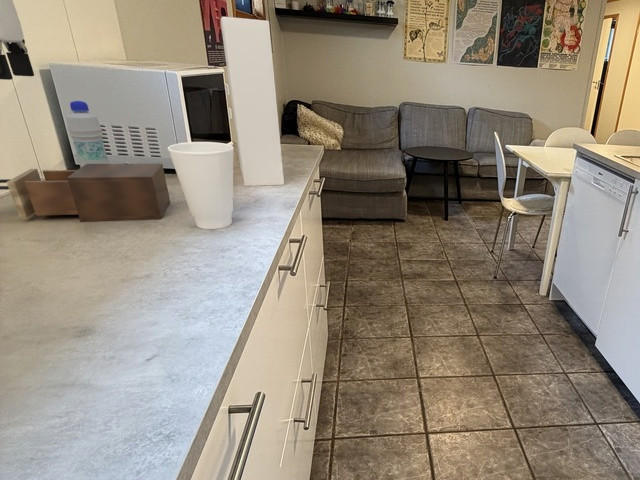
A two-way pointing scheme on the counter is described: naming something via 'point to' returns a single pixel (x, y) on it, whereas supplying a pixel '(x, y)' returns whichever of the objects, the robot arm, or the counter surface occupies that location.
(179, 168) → the cup
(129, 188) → the cabinet
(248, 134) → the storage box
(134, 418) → the counter surface
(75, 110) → the bottle
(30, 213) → the drawer
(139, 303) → the counter surface
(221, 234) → the counter surface
